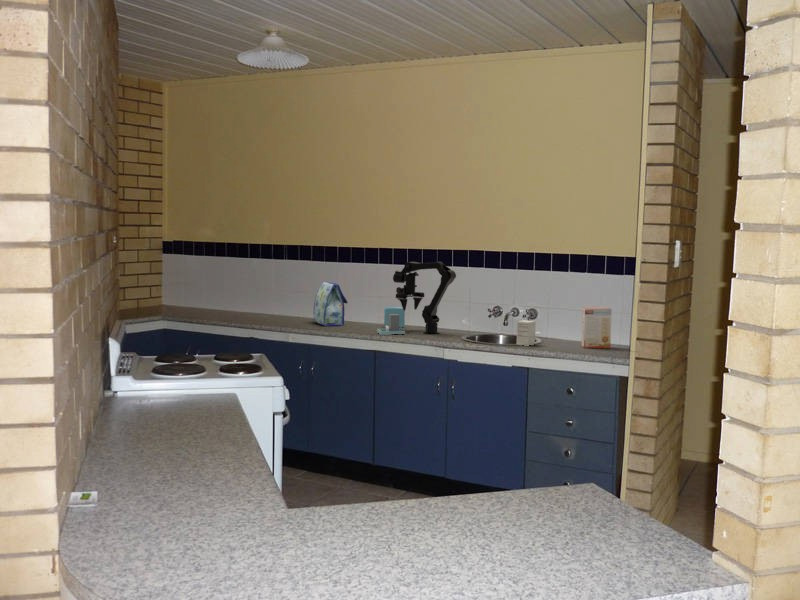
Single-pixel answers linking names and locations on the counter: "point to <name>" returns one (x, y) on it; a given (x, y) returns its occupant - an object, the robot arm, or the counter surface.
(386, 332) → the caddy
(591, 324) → the cracker box
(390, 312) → the teal arch frame
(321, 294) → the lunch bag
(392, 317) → the drive cartridge
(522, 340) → the white drawer cabinet
